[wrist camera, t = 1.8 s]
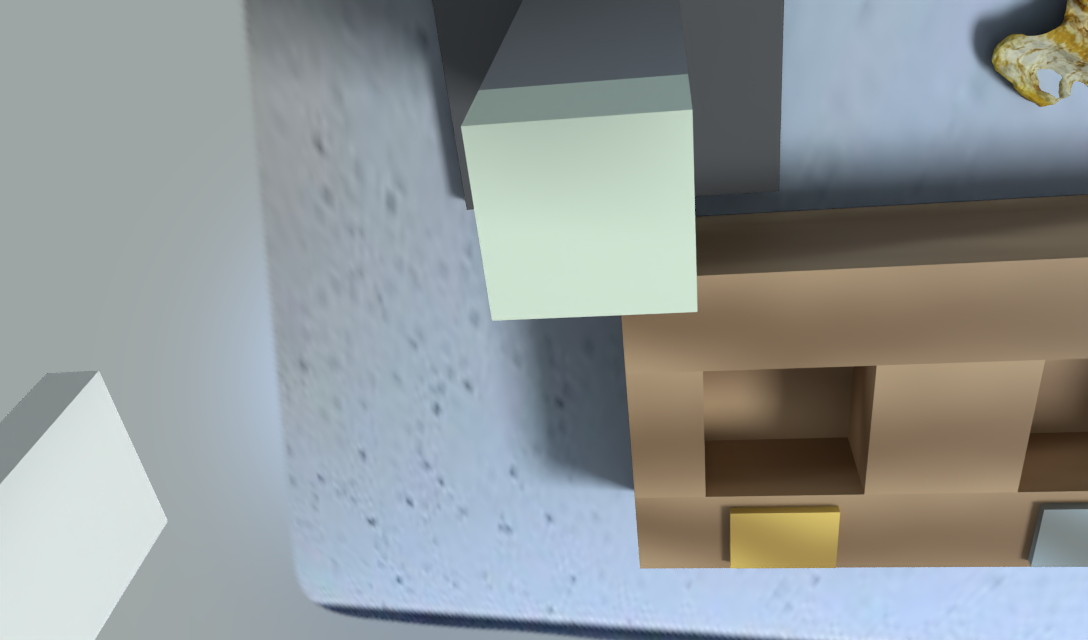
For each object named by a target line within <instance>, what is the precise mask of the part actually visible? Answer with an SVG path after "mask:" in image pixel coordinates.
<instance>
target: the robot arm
mask: <svg viewBox="0 0 1088 640" xmlns="http://www.w3.org/2000/svg"><path fill="white" fill-rule="evenodd" d="M166 523H167V518H166V516H165V514H164V512H163V510H162V508H161V505H160V503H159V502H158V499H157V497H156V495H155V493H154V491H153V488H152V486H151V484H150V481H149V479H148V477H147V475H146V473H145V471H144V468H143V466H142V464H141V462H140V460H139V457H138V455H137V453H136V451H135V449H134V447H133V444H132V442H131V440H130V438H129V436H128V434H127V431H126V429H125V427H124V425H123V423H122V421H121V418H120V416H119V414H118V412H117V410H116V407H115V405H114V403H113V401H112V399H111V396H110V394H109V392H108V390H107V388H106V386H105V383H104V381H103V379H102V377H101V375H100V372H99V371H85V372H65V373H47V374H46V375H45V376H44V377H43V378H42V379H41V380H40V381H39V382H38V383H37V384H36V385H35V386H34V387H33V389H32V390H31V391H30V392H29V393H28V394H27V395H26V396H25V397H24V398H23V399H22V400H21V401H20V402H19V403H18V404H17V405H16V406H15V408H14V409H13V410H12V411H11V412H10V413H9V414H8V415H7V416H6V417H5V418H4V419H3V420H2V421H1V422H0V640H95V638H96V637H97V635H98V633H99V631H100V630H101V629H102V626H103V625H104V624H105V622H106V620H107V619H108V617H109V616H110V614H111V612H112V610H113V609H114V607H115V606H116V604H117V603H118V600H119V599H120V598H121V596H122V594H123V593H124V591H125V589H126V588H127V586H128V585H129V583H130V581H131V580H132V578H133V577H134V575H135V573H136V572H137V570H138V568H139V567H140V565H141V563H142V562H143V560H144V559H145V557H146V555H147V554H148V552H149V550H150V549H151V547H152V545H153V544H154V542H155V541H156V539H157V537H158V536H159V534H160V532H161V531H162V529H163V528H164V526H165V524H166Z"/></svg>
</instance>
